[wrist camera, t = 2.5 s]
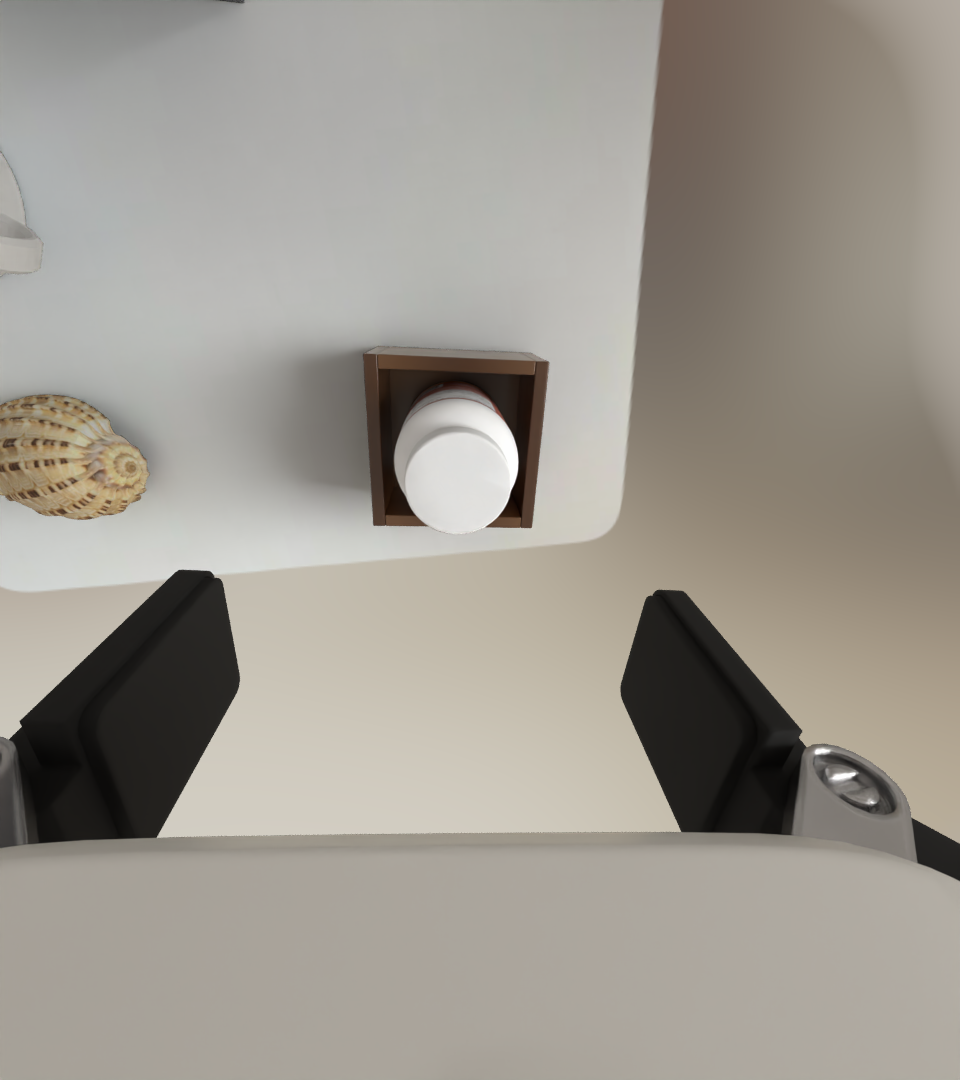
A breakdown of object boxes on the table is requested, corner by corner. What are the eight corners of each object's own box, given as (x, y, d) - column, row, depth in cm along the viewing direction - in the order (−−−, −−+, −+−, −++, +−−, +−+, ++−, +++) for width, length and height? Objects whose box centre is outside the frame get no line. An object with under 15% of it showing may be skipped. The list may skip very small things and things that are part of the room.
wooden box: (531, 352, 29) (549, 361, 24) (519, 495, 33) (531, 528, 28) (377, 345, 28) (362, 353, 23) (384, 492, 32) (373, 526, 27)
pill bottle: (488, 483, 32) (507, 562, 22) (398, 464, 31) (375, 537, 21) (513, 391, 29) (547, 433, 19) (415, 367, 28) (398, 397, 18)
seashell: (104, 505, 34) (185, 486, 29) (12, 549, 29) (91, 535, 25) (27, 402, 31) (104, 363, 26) (-92, 434, 26) (-23, 394, 21)
